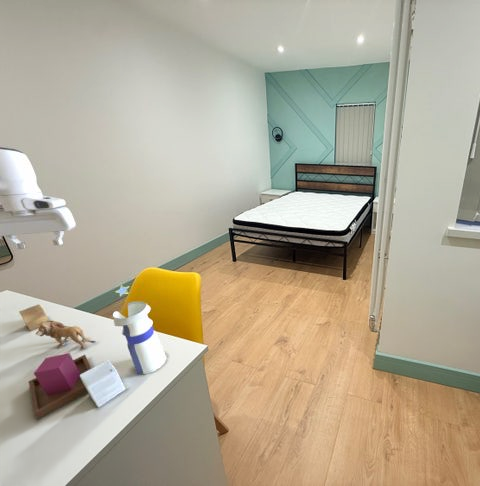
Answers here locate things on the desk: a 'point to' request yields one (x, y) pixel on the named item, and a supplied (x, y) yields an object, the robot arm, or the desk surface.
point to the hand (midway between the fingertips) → (40, 246)
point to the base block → (33, 316)
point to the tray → (50, 403)
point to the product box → (102, 382)
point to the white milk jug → (140, 336)
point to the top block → (57, 374)
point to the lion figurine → (62, 332)
